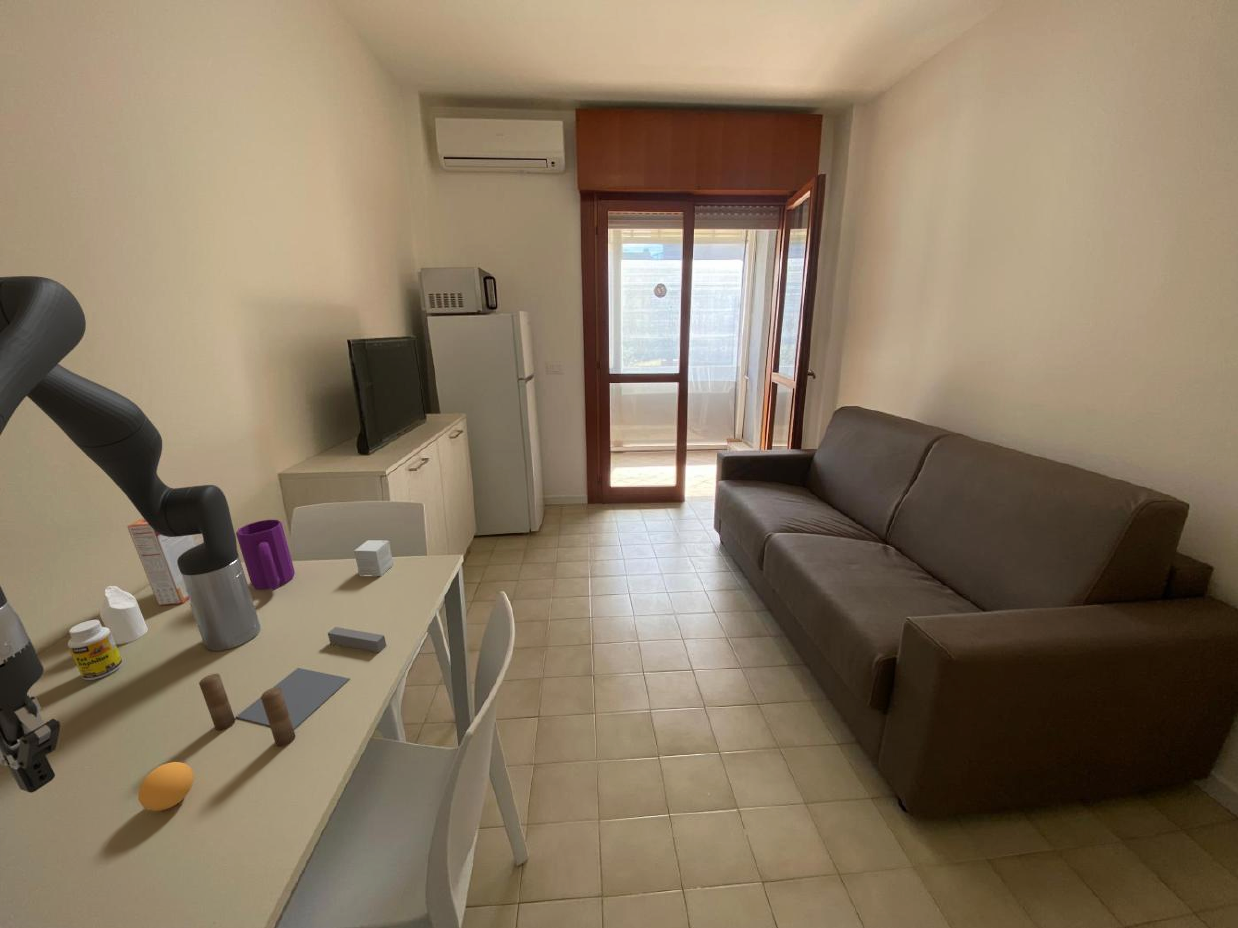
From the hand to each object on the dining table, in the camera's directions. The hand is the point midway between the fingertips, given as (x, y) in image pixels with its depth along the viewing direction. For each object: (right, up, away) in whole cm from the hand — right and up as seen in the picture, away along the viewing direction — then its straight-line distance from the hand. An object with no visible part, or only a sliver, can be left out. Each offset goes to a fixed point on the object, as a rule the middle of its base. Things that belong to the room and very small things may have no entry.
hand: (39, 784), depth 55 cm
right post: (+12, -8, +22) cm, 27 cm away
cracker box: (-41, +5, +67) cm, 79 cm away
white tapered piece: (-39, -1, +50) cm, 63 cm away
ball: (+3, -8, +12) cm, 15 cm away
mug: (-20, +5, +67) cm, 71 cm away
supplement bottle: (-34, -4, +39) cm, 52 cm away
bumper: (+12, -1, +44) cm, 46 cm away
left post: (0, -7, +26) cm, 27 cm away
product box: (+2, +8, +73) cm, 73 cm away
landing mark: (+8, -5, +31) cm, 32 cm away
